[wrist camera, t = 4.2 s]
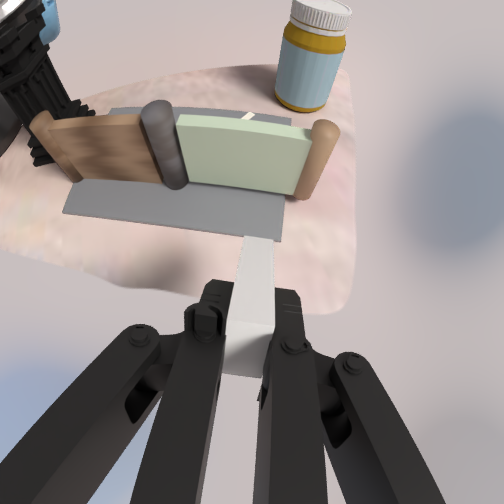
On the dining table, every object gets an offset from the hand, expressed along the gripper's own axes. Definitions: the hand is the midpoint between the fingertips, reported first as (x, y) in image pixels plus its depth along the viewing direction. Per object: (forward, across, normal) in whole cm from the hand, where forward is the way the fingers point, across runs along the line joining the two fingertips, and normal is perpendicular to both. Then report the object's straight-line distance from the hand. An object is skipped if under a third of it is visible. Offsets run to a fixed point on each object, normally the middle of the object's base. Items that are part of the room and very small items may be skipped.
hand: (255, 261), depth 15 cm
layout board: (+16, -10, +2) cm, 19 cm away
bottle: (+26, +3, +11) cm, 28 cm away
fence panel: (+13, -1, +1) cm, 13 cm away
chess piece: (+19, -28, +4) cm, 34 cm away
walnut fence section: (+14, -15, 0) cm, 21 cm away
